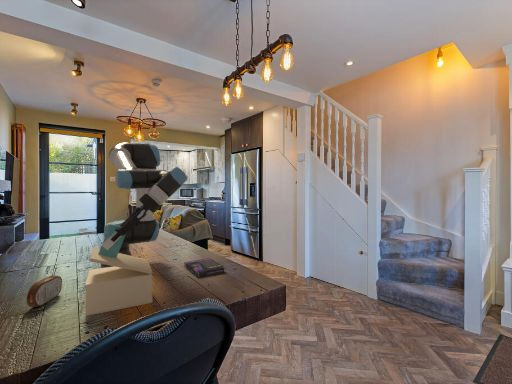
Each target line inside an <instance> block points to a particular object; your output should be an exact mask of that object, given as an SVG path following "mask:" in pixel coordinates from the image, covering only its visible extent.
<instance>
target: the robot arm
mask: <svg viewBox="0 0 512 384" xmlns="http://www.w3.org/2000/svg"><path fill="white" fill-rule="evenodd" d="M108 159H109V161H110V163H111V164H112V165H113V166H114V167H115V169H116V172H115V184H116V185H115V186H116V188H118V189H125V190H129V189H130V190H131V189H136V190H135V191H136V192H135V194H136V196H135V198H136V199H135V203H136V205H135V207H136V208H134V211H132V213H130V215H129V216H128V217H126V219H123V220H115V221H110V222H108V223H106V224H104V228H103V231H104V232H103V235H104V237H103V239H104V238H105V236H106V233H107V231H108V228H109V226H110V224H114V225H117V226H121V228H120V229H119V230H117V229H115V231H116V232H114V233H113V234H112V235H111V236H110V237H109V238H108V239H107V240H106V241H105V242H104V243H103V242H102V243H103V244H102V243H101V246H103V247H104V248H105V249H107V250H108V249H109V248H110V247H111V246H113V245H114V244H115V243H116V242H117V241H118V240H119V239H120V238H121V237H122V236H123V235H125V234H126V235H125V237H124V240H123V242H122V245H121V248H120V250H119V253H121V254H125V255H130V256H133V255H132V252H131V251H130V245H132V244H133V245H134V244H142V243H150V242H155V241H156V240H157V238H158V237H159V233H160V222H159V221H158V220H157V218H156V216H155V215H154V213H156V212H157V211H158V210H159V209H160V208H161V206H162V205H163V204H165V203H168V202H169V200H168V199H170V198H171V197H172V196H173V195H174V194H175V193H176V192H177V191H178V190H179V189H180V188H181V187H183V185H184V184H185V183H186V182H187V180H188V176H187V174H186V172H184V171H183V170H182V169H181V168H180V167H178V166H176V165H175V166H172V167H171V168H170V169H169V170H165V169H157V167H159V166H160V164H161V154H160V151H159V148H158V147H157V146H156V145H155V144H150V143H137V142H121V143H118V144H116V145H114V146H112V147H111V149H110V150H109V152H108ZM101 246H100V247H101ZM106 267H114V266H110V265H105V264H100V268H106Z"/></svg>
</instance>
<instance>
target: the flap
mask: <svg viewBox="0 0 512 384" xmlns="http://www.w3.org/2000/svg"><path fill="white" fill-rule="evenodd" d="M120 228H121V226H117V225H114V224H110V226H109V228H108V231H107V233H106V236H105V238H104V237H103V241H102V242H101V245H102V244H103V243H104V242H105V241H106V240H107V239H108V238H109V237H110V236H111V235H112V234H113V233H114V232H116V231H115V229H117V230H119V229H120ZM125 235H126V234H125ZM125 235H123V236H122V237H121V238H120V239H119V240H118V241H117V242H116V243H115V244H114V245H113V246H111V247H110V248H109V249H108V250H107V249H105V248H104V247H103V246H100V247H99V248H98V247H92V250H91V254H90V257H89V260H88V261H89V262H91V263H96V264H100V265H101V264H105V265H110V266H115V267H120V268H125V269H130V270H134V271H139V272H144V273H149V274H153V269H152V267H151V266H150V264H149V262H148V260H147V259H146V258H141V257H137V256H133V255H132V256H130V255H125V254H121V253H119V250H120V248H121V245H122V242H123V240H124V237H125Z"/></svg>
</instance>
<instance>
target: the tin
mask: <svg viewBox="0 0 512 384" xmlns="http://www.w3.org/2000/svg"><path fill="white" fill-rule="evenodd" d="M62 287H63V278H62V277H61V276H59V275H51V274H50V275H49V276H47V277H44V278H42V279H41V280H38V281H36V282H34V283H33V284H32V285H31V286H30V288H29V289H28V292H27V295H26V303H27V306H28V307H29V308H36V307H37V308H39V306H40V307H42V306H44V305H45V303H46V304H48V303H49V302H50V300H51V301H52V300H54V299H56V298H57V297H58V296H59V294H60V293H61V291H62ZM55 297H56V298H55ZM48 301H49V302H48ZM43 304H44V305H43ZM41 305H42V306H41Z"/></svg>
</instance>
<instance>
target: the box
mask: <svg viewBox="0 0 512 384" xmlns="http://www.w3.org/2000/svg"><path fill="white" fill-rule="evenodd" d="M183 267H184V268H185V269H186V271H188V272H189V273H191V274H192V276H194V277H196V278H202V277H203V278H204V277H208V276H213V275H218V274H223V273H225V266H223V265H222V264H220V263H218V262H217V261H215V260H214V259H212V258H210V257H208V258H207V257H206V258H202V259H201V258H200V259H197V260H192V261H191V260H190V261H185V262H184V265H183Z"/></svg>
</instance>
